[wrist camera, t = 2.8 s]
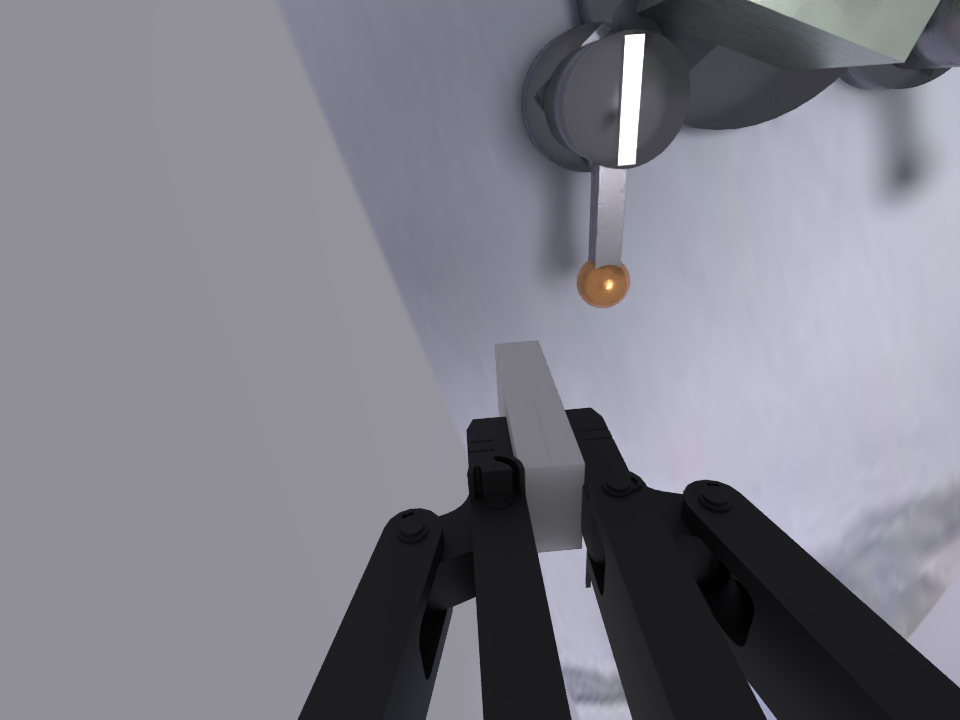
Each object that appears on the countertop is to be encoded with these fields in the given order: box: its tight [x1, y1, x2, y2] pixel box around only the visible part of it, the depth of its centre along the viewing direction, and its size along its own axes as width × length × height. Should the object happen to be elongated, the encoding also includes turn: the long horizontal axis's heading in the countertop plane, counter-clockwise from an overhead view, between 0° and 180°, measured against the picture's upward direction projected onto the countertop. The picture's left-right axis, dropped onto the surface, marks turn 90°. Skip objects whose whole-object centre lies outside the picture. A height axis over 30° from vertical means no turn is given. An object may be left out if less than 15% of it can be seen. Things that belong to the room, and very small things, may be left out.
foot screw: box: [544, 29, 690, 308], centre depth 23 cm, size 12×5×6 cm, turn 4°
